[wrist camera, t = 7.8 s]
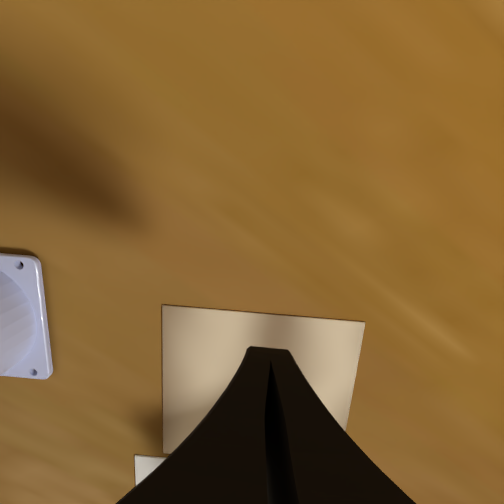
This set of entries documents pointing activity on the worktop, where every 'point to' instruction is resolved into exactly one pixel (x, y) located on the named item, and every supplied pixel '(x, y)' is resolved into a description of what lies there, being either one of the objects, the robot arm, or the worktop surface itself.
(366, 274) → the worktop surface
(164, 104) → the worktop surface
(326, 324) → the shelf board
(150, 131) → the worktop surface
